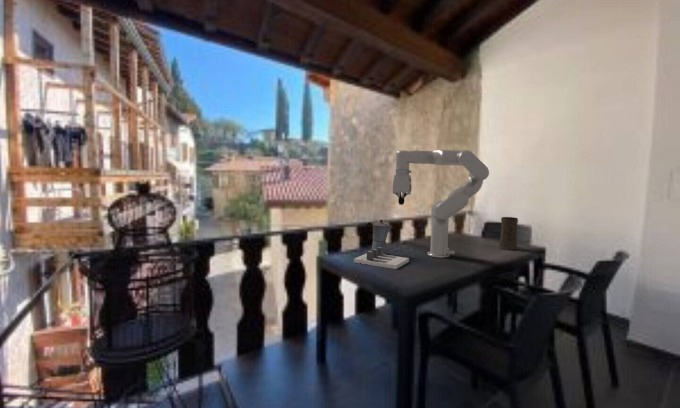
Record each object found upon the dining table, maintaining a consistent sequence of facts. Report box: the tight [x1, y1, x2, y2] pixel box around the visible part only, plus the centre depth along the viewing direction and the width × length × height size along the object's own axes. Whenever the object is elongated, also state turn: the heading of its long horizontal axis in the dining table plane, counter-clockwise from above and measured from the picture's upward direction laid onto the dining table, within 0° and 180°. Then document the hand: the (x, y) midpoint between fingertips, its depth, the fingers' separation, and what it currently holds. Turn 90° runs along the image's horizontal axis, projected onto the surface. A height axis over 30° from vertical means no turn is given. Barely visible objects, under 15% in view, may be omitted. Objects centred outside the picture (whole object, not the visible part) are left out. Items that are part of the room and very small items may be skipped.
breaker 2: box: [372, 249, 378, 258], centre depth 225 cm, size 2×3×4 cm
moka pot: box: [365, 219, 393, 255], centre depth 242 cm, size 10×15×20 cm, turn 78°
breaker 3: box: [377, 247, 383, 256], centre depth 230 cm, size 2×3×4 cm
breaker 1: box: [366, 250, 373, 260], centre depth 220 cm, size 2×3×4 cm
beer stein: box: [498, 216, 519, 250], centre depth 265 cm, size 15×11×20 cm
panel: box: [353, 252, 410, 270], centre depth 224 cm, size 24×18×2 cm
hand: (401, 204), depth 240 cm, fingers closed
